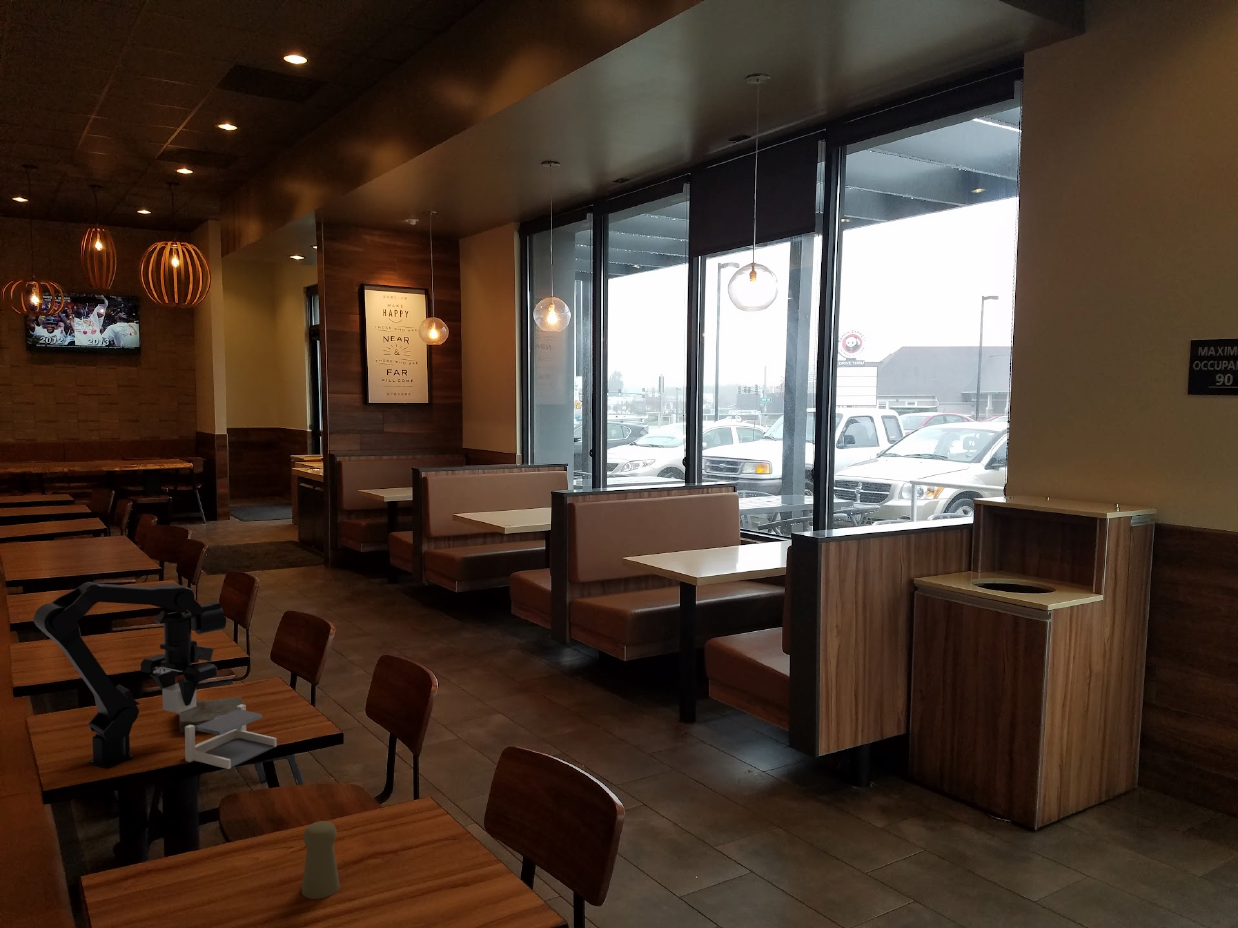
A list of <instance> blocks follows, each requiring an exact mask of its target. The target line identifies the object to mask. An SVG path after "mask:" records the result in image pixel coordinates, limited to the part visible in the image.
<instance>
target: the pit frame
mask: <svg viewBox="0 0 1238 928" xmlns="http://www.w3.org/2000/svg"><path fill="white" fill-rule="evenodd" d="M237 709H240V710H245V711H247V705H246V704H243V703H242V704H241V705H238V706H237ZM277 739H278V738H277V737H273V736H269V735H264V734H260V733H256V732H252V731H247V724H246V725H243V726H241V727H239V728H236V729H234V730H232V731H229V732H227V733H225V734H222V735H220V736H219V735H215V736H214V737H211V738H209V739H207V740H204V741H202V742H199V743H197V744H196V732H195V726H194V725H188V726H186V727H185V732H184V743H185V744H184V747H185V748H184V757H185V762H189V763H191V762H193V761H195V762H199V763H203V764H208V765H211V766H214V767H218V768H223V769H226V770H229V769H232V768H235V767H237V766H238V765H241V764H243V763H245V762H247V761H249V760H252V759H254V758H255V757H257V756H260V755H262V754H264V753H266V752H268V751H270V750H272V749H274V748H276V747H277V745H278V743H277Z"/></svg>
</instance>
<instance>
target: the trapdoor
mask: <svg viewBox="0 0 1238 928" xmlns="http://www.w3.org/2000/svg"><path fill="white" fill-rule="evenodd" d="M262 718H263V714H262V713H257V712H253V711H248V710H246V711H245V710H240V709H236V710H233V711H231V712H228V713H226V714H223V715H221V716H218V717H216V718H213V719H211V720H208V721H206V722H203V723H201V724H199V725H196V726H195V730H198V731H200V732H202V733H207V734H212V735H215V736H218V735H219V736H220V735H222V734H225V733H227V732H229V731H232V730H234V729H237V728H239V727H241V726H243V725H246V726H247V724H250V723H253V722H255V721H257V720H259V719H262Z"/></svg>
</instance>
